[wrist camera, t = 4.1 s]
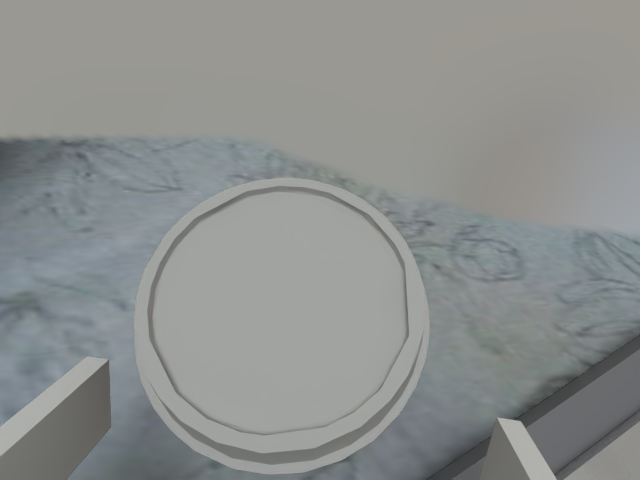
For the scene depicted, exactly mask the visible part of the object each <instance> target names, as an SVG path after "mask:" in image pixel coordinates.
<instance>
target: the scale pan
mask: <svg viewBox="0 0 640 480" xmlns="http://www.w3.org/2000/svg"><path fill="white" fill-rule="evenodd" d="M554 476H555V477H556V479H557V480H640V411H639V412H637V413H636V414H635V415H633V416H632V417H631V418H629V419H628V420H627V421H625V422H624V423H623V424H621V425H620V426H619V427H617V428H616V429H615V430H613V431H612V432H611V433H609V434H608V435H607V436H605V437H604V438H603V439H601V440H600V441H599V442H598V443H596V444H595V445H594V446H592V447H591V448H590V449H588V450H587V451H586V452H584V453H583V454H582V455H580V456H579V457H578V458H576V459H575V460H574V461H572V462H571V463H570V464H568V465H567V466H566V467H564V468H563V469H562V470H560V471H559V472H558V473H557V474H555V475H554Z"/></svg>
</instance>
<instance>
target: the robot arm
mask: <svg viewBox="0 0 640 480" xmlns="http://www.w3.org/2000/svg"><path fill="white" fill-rule="evenodd" d="M110 428H111V405H110V377H109V360H108V359H101V358H95V357H88V356H87V357H86V358H85V359H84V360H82V361H81V362H80V363H79V364H77V365H76V366H75V367H74V368H72V369H71V370H70V371H69V372H67V373H66V374H65V375H64V376H62V377H61V378H60V379H59V380H58V381H56V382H55V383H54V384H53V385H51V386H50V387H49V388H48V389H46V390H45V391H44V392H43V393H41V394H40V395H39V396H38V397H36V398H35V399H34V400H33V401H32V402H30V403H29V404H28V405H27V406H25V407H24V408H23V409H22V410H20V411H19V412H18V413H17V414H15V415H14V416H13V417H12V418H10V419H9V420H8V421H7V422H6V423H4V424H3V425H2V426H1V427H0V480H67V478H68V477H69V476H70V475H71V474H72V472H73V471H74V470H75V469H76V468H77V467H78V465H79V464H80V463H81V462H82V461H83V459H84V458H85V457H86V456H87V455H88V454H89V452H90V451H91V450H92V449H93V448H94V446H95V445H96V444H97V443H98V442H99V441H100V439H101V438H102V437H103V436H104V435H105V433H106V432H107V431H108V430H109V429H110ZM480 480H557V479H556V477H555V476H554V474H553V472H552V471H551V469H550V468H549V466H548V464H547V463H546V461H545V460H544V458H543V456H542V455H541V453H540V451H539V450H538V448H537V447H536V445H535V443H534V442H533V440H532V439H531V437H530V435H529V434H528V432H527V430H526V429H525V427H524V426H523V424H522V422H521V421H517V420H510V419H503V418H497V419H496V422H495V426H494V430H493V433H492V437H491V440H490V444H489V447H488V451H487V455H486V458H485V462H484V465H483V469H482V472H481V476H480Z"/></svg>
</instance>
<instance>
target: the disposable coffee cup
mask: <svg viewBox="0 0 640 480" xmlns="http://www.w3.org/2000/svg"><path fill="white" fill-rule="evenodd" d="M429 334H430V325H429V307H428V303H427V298H426V293H425V289H424V285H423V282H422V279H421V276H420V272H419V270H418V267H417V265H416V262H415V259H414V257H413V254H412V252H411V251H410V249H409V247H408V246H407V244H406V242H405V240H404V239H403V237H402V236H401V235H400V233H399V232H398V231H397V230H396V229H395V227H394V226H393V225H392V224H391V222H390V221H389V220H388V219H387V218H386V217H385V216H384V215H383V214H381V213H380V212H379V211H378V210H376V209H375V208H374V207H372V206H371V205H370V204H368V203H367V202H366V201H364V200H363V199H361V198H359V197H357V196H355V195H354V194H352V193H350V192H348V191H346V190H344V189H342V188H339V187H335V186H332V185H329V184H325V183H322V182H319V181H314V180H306V179H299V178H274V179H265V180H256V181H252V182H249V183H245V184H242V185H238V186H234V187H232V188H229V189H227V190H225V191H222V192H220V193H218V194H216V195H214V196H212V197H210V198H209V199H207V200H205V201H203V202H202V203H200V204H198V205H197V206H196V207H194V208H193V209H192V210H191V211H189V212H188V213H187V214H185V215H184V216H183V217H182V218H181V219H180V220H179V221H178V222H177V223H176V224H175V225H174V226H173V227H172V228H171V229H170V230H169V231H168V232H167V233H166V234H165V236H164V237H163V239H162V240H161V242H160V244H159V245H158V247H157V248H156V250H155V251H154V253H153V255H152V257H151V259H150V261H149V262H148V264H147V266H146V268H145V270H144V272H143V275H142V278H141V282H140V285H139V289H138V292H137V297H136V305H135V314H134V338H135V359H136V363H137V367H138V371H139V375H140V379H141V382H142V385H143V387H144V389H145V391H146V393H147V396H148V398H149V400H150V402H151V404H152V406H153V408H154V409H155V411H156V412H157V413H158V414H159V416H160V417H161V418H162V420H163V421H164V422H165V424H166V425H167V426H168V428H169V429H170V430H171V431H172V432H173V433H174V434H176V435H177V436H178V437H179V438H180V439H181V440H183V441H184V442H185V443H186V444H187V445H188V446H189V447H191V448H192V449H193V450H194V451H196V452H198V453H200V454H202V455H204V456H206V457H208V458H211V459H213V460H215V461H217V462H219V463H221V464H224V465H226V466H228V467H230V468H232V469H237V470H243V471H249V472H255V473H262V474H268V475H270V474H287V473H304V472H307V471H310V470H313V469H316V468H319V467H322V466H326V465H329V464H332V463H335V462H338V461H341V460H343V459H344V458H346V457H348V456H349V455H351V454H353V453H354V452H356V451H358V450H359V449H361V448H362V447H364V446H366V445H367V444H369V443H371V442H372V441H374V440H375V439H376V438H377V437H378V436H379V435H380V434H381V432H382V431H383V430H384V429H385V428H386V427H387V426H388V425H389V424H390V423H391V422H392V421H393V420H394V419H395V418H396V417H397V416H398V415H399V414H400V413H401V411H402V409H403V408H404V406H405V404H406V403H407V401H408V399H409V398H410V396H411V394H412V393H413V391H414V389H415V388H416V386H417V383H418V380H419V377H420V374H421V372H422V369H423V366H424V363H425V360H426V357H427V349H428V341H429Z"/></svg>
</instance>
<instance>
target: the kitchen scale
mask: <svg viewBox="0 0 640 480" xmlns="http://www.w3.org/2000/svg"><path fill="white" fill-rule="evenodd" d="M639 411H640V335H639V336H638V337H636V338H635V339H633V340H632V341H630V342H629V343H627V344H626V345H624V346H623V347H622V348H620V349H619V350H617V351H616V352H614V353H613V354H611V355H610V356H608V357H607V358H605V359H604V360H602V361H601V362H599V363H598V364H597V365H595V366H594V367H592V368H591V369H589V370H588V371H586V372H585V373H583V374H582V375H580V376H579V377H577V378H576V379H574V380H573V381H571V382H570V383H569V384H567V385H566V386H564V387H563V388H561V389H560V390H558V391H557V392H555V393H554V394H552V395H551V396H549V397H548V398H546V399H545V400H544V401H542V402H541V403H539V404H538V405H536V406H535V407H533V408H532V409H530V410H529V411H527V412H526V413H524V414H523V415H521V416H520V417H518V418H517V419H516V420H517V421H521V422H522V424H523V426H524V427H525V429H526V430H527V432H528V434H529V435H530V437H531V439H532V440H533V442H534V443H535V445H536V447H537V448H538V450H539V451H540V453H541V455H542V456H543V458H544V460H545V461H546V463H547V464H548V466H549V468H550V469H551V471H552V472H553V474H554V475H555V474H557V473H558V472H559V471H560V470H562V469H563V468H564V467H566V466H567V465H568V464H570V463H571V462H572V461H574V460H575V459H576V458H578V457H579V456H580V455H582V454H583V453H584V452H586V451H587V450H588V449H590V448H591V447H592V446H594V445H595V444H596V443H598V442H599V441H600V440H601V439H603V438H604V437H605V436H607V435H608V434H609V433H611V432H612V431H613V430H615V429H616V428H617V427H619V426H620V425H621V424H623V423H624V422H625V421H627V420H628V419H629V418H631V417H632V416H633V415H635V414H636V413H637V412H639ZM491 437H492V436H491ZM491 437H489V438H488V439H486V440H485V441H483V442H482V443H480V444H479V445H477V446H476V447H474V448H473V449H471V450H470V451H468V452H467V453H465V454H464V455H463V456H461V457H460V458H458V459H457V460H455V461H454V462H452V463H451V464H449V465H448V466H446V467H445V468H443V469H442V470H440V471H439V472H438V473H436V474H435V475H433V476H432V477H430V478H429V479H427V480H480V476H481V472H482V469H483V465H484V462H485V458H486V455H487V451H488V447H489V444H490V440H491Z"/></svg>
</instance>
